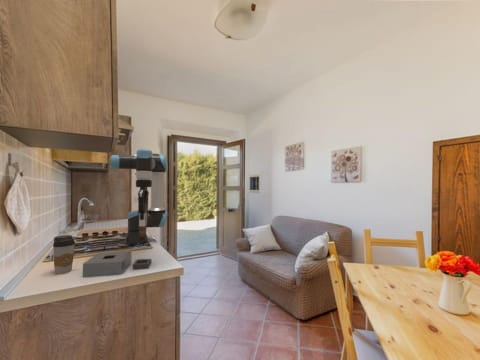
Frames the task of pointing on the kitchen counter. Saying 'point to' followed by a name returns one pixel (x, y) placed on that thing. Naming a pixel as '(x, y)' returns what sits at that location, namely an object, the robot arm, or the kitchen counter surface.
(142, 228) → the stylus
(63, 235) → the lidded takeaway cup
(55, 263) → the coffee cup
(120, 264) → the box
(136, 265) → the socket
